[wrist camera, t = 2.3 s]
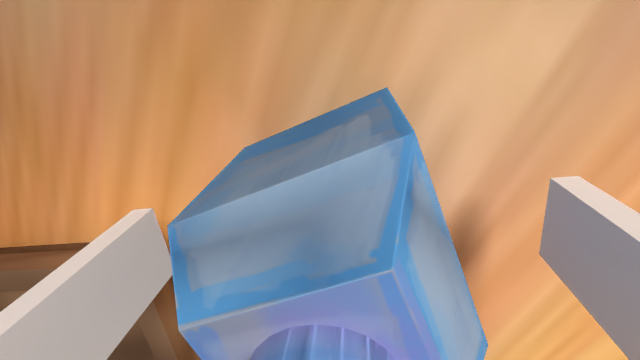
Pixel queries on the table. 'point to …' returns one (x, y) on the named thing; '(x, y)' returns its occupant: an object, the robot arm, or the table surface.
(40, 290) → the robot arm
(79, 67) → the table surface
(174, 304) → the walnut tray
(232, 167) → the perfume bottle
